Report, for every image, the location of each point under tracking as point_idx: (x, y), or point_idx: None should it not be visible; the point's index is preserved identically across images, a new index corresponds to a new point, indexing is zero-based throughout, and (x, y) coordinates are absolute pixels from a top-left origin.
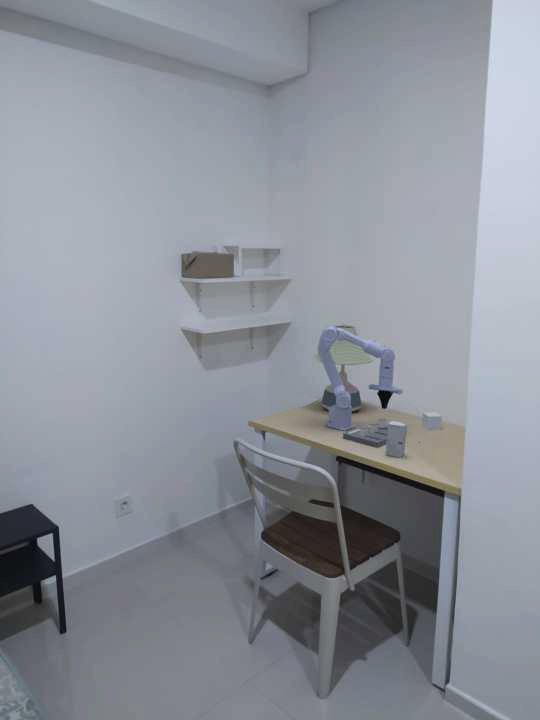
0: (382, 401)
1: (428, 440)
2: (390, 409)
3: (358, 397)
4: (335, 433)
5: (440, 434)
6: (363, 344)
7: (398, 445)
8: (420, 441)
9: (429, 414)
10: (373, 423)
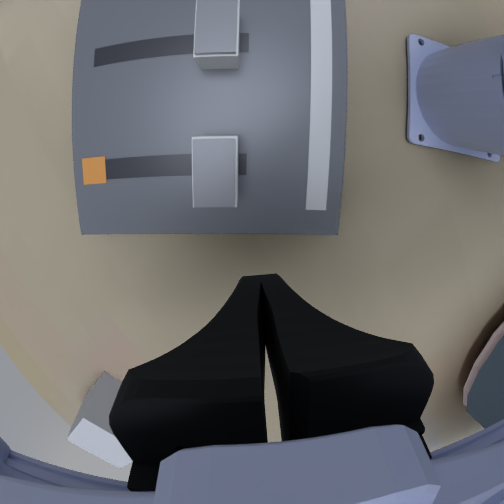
0: (274, 310)
1: (5, 236)
2: None
3: (492, 411)
4: None
5: (40, 345)
6: None
7: None
8: (10, 194)
9: (108, 442)
10: (218, 24)
